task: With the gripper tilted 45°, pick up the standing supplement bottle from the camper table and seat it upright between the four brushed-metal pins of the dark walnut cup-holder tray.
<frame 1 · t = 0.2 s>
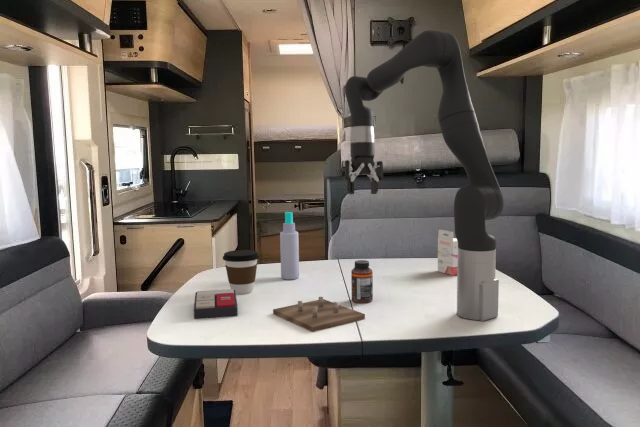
hand: (362, 194, 170), 28 cm above the table, tool pointing down, fingers open, 8 cm apart
ink cartridge box: (450, 273, 186), on the table
spray bottle: (290, 278, 181), on the table
coffee cup: (242, 292, 164), on the table
pin tray: (318, 316, 139), on the table
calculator: (216, 311, 147), on the table
supplement bottle: (362, 301, 153), on the table
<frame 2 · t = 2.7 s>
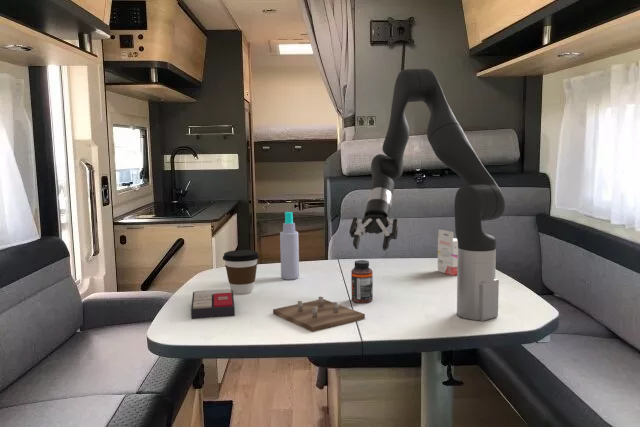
hand: (369, 248, 160), 13 cm above the table, tool tilted 45°, fingers open, 8 cm apart
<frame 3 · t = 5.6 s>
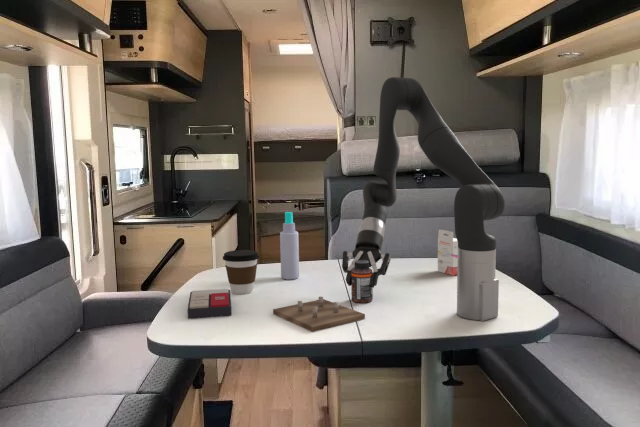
hand: (360, 285, 150), 5 cm above the table, tool tilted 45°, fingers closed on supplement bottle, 6 cm apart
supplement bottle: (362, 301, 153), on the table, touching gripper
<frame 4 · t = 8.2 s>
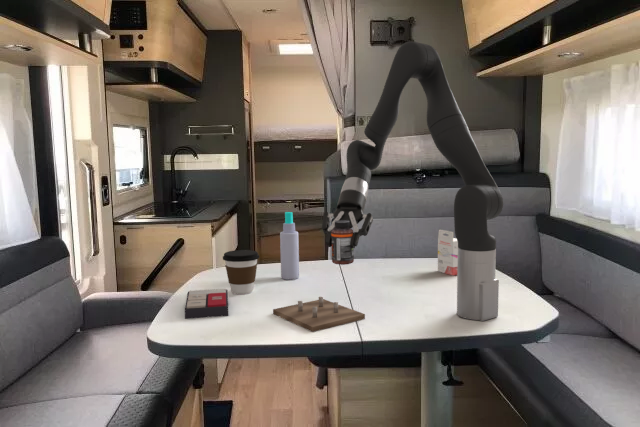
hand: (340, 245, 143), 17 cm above the table, tool tilted 45°, fingers closed on supplement bottle, 6 cm apart
supplement bottle: (342, 263, 146), point 12 cm above the table, touching gripper
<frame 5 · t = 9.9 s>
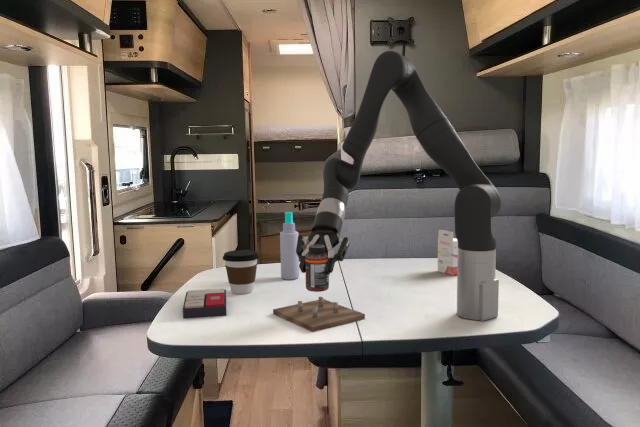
hand: (314, 271, 136), 12 cm above the table, tool tilted 45°, fingers closed on supplement bottle, 6 cm apart
supplement bottle: (317, 290, 139), point 7 cm above the table, touching gripper
when the fingers open (7 cm above the table, at t = 11.2 s): supplement bottle stays where it is, resting on pin tray.
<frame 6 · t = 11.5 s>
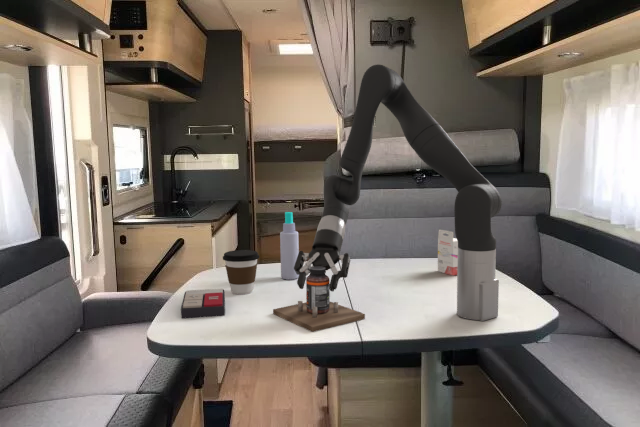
hand: (315, 288, 137), 8 cm above the table, tool tilted 45°, fingers open, 8 cm apart
supplement bottle: (318, 311, 139), point 1 cm above the table, touching pin tray
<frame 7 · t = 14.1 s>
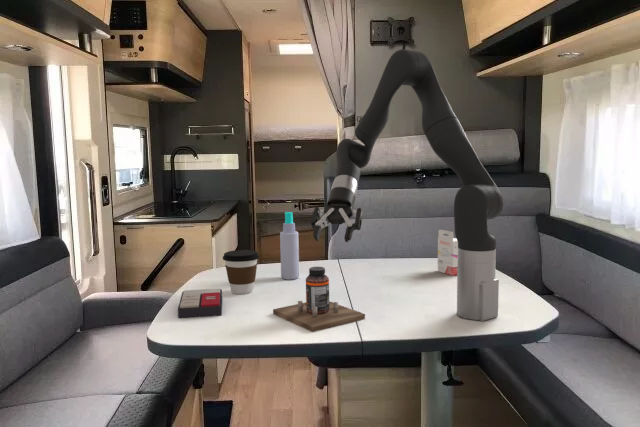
hand: (331, 239, 148), 18 cm above the table, tool tilted 45°, fingers open, 8 cm apart
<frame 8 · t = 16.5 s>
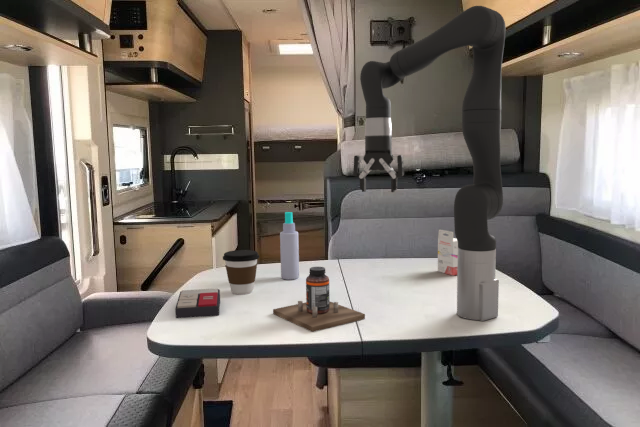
hand: (378, 191, 155), 30 cm above the table, tool pointing down, fingers open, 8 cm apart
at the end: supplement bottle 0.2 cm off-centre on the pin tray, point 1.0 cm above the pin tray's base; supplement bottle tilted 0°; the gripper is holding nothing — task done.
